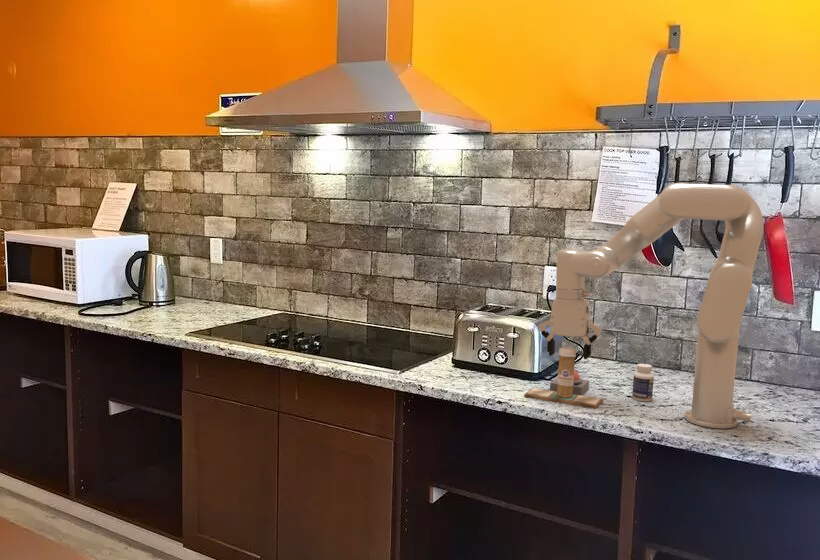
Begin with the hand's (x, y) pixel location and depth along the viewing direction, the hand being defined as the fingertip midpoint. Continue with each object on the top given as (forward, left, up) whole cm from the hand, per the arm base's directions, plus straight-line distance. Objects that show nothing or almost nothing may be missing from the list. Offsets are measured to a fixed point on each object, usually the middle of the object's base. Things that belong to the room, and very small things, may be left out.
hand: (568, 356), depth 207 cm
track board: (+1, 0, -12) cm, 12 cm away
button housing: (+2, -10, -12) cm, 16 cm away
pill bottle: (-18, -12, -13) cm, 25 cm away
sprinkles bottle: (0, 0, -11) cm, 11 cm away
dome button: (+2, -10, -12) cm, 15 cm away
